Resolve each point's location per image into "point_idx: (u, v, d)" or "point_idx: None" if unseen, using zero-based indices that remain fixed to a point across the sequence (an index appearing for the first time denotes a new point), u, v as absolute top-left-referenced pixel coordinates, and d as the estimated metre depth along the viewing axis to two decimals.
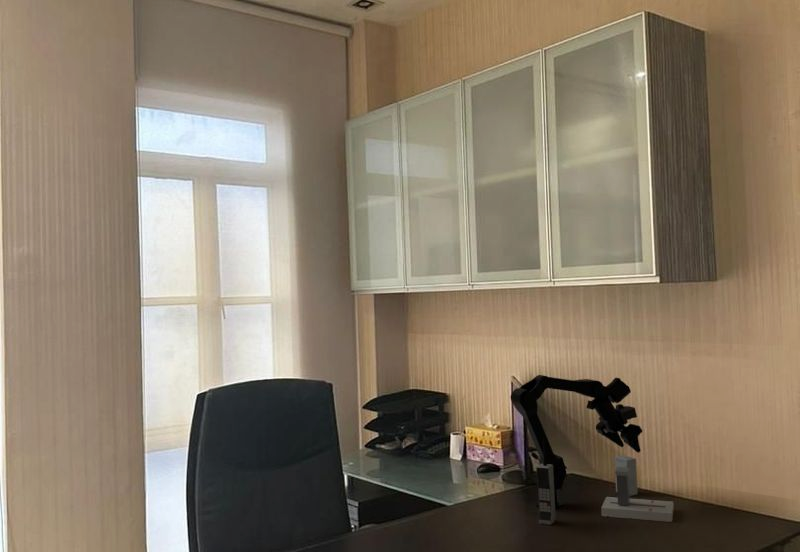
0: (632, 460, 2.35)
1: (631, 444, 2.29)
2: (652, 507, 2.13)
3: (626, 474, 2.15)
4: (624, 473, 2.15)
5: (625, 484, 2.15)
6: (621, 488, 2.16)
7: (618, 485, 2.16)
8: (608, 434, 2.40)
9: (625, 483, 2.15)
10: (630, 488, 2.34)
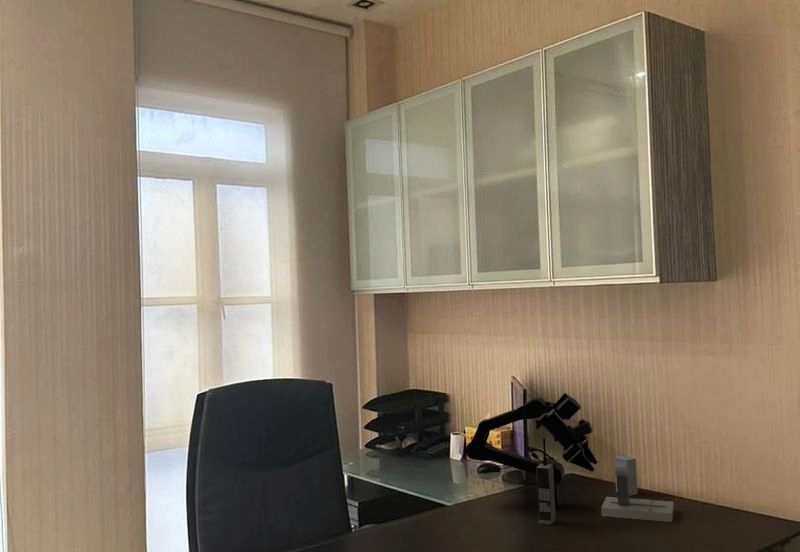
0: (632, 460, 2.35)
1: (577, 463, 2.18)
2: (652, 507, 2.13)
3: (626, 474, 2.15)
4: (624, 473, 2.15)
5: (625, 484, 2.15)
6: (621, 488, 2.16)
7: (618, 485, 2.16)
8: None
9: (625, 483, 2.15)
10: (630, 488, 2.34)
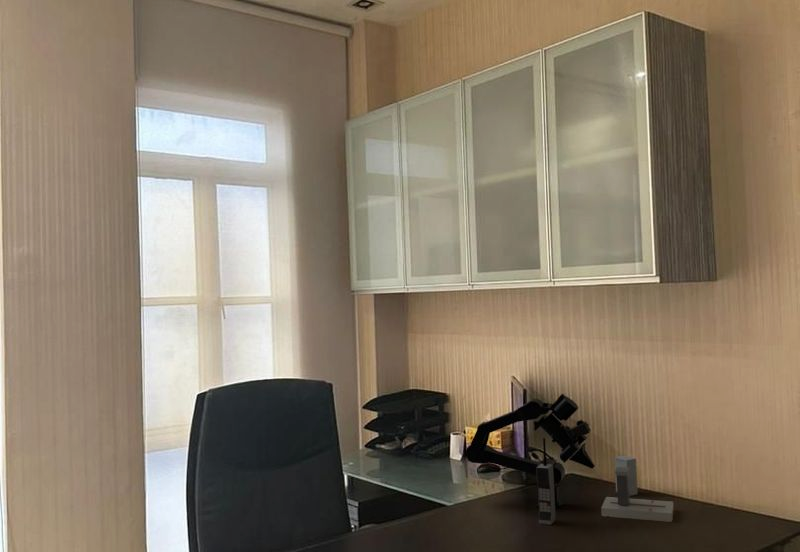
0: (632, 460, 2.35)
1: (577, 460, 2.22)
2: (652, 507, 2.13)
3: (626, 474, 2.15)
4: (624, 473, 2.15)
5: (625, 484, 2.15)
6: (621, 488, 2.16)
7: (618, 485, 2.16)
8: None
9: (625, 483, 2.15)
10: (630, 488, 2.34)
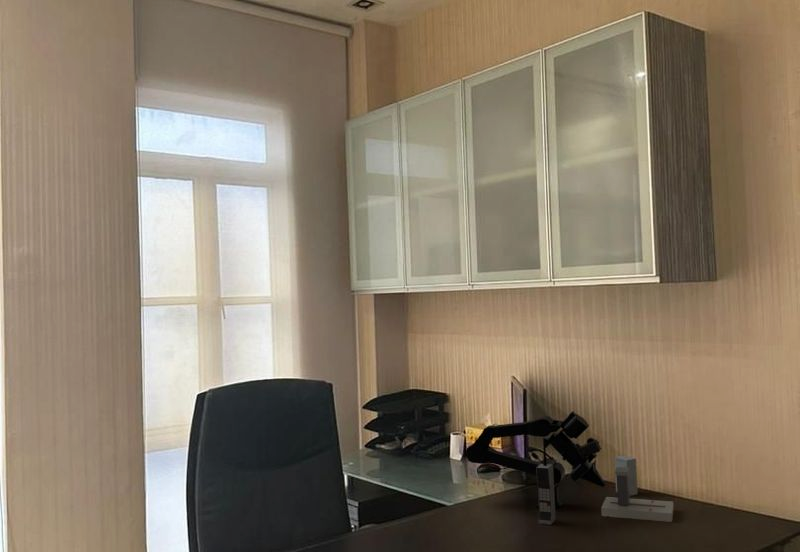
0: (632, 460, 2.35)
1: (588, 479, 2.20)
2: (652, 507, 2.13)
3: (626, 474, 2.15)
4: (624, 473, 2.15)
5: (625, 484, 2.15)
6: (621, 488, 2.16)
7: (618, 485, 2.16)
8: None
9: (625, 483, 2.15)
10: (630, 488, 2.34)
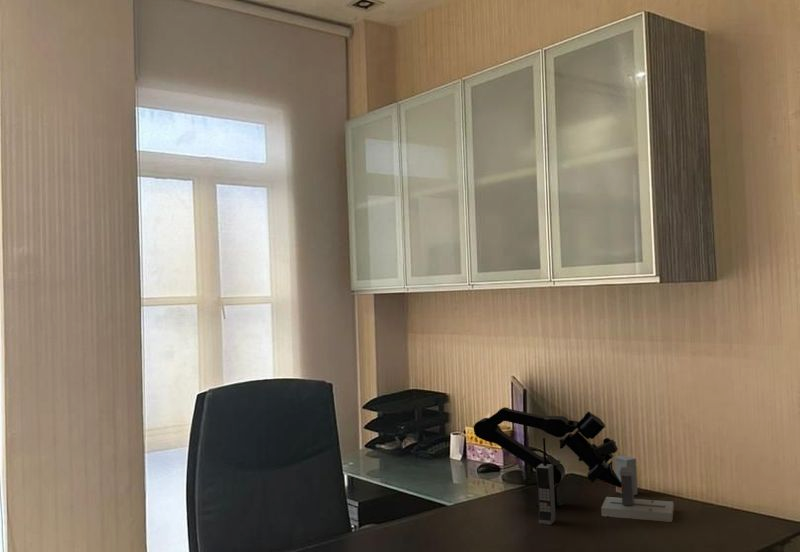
0: (632, 460, 2.35)
1: (605, 479, 2.18)
2: (652, 507, 2.13)
3: (631, 474, 2.15)
4: (629, 473, 2.15)
5: (630, 484, 2.15)
6: (625, 488, 2.15)
7: (622, 486, 2.16)
8: None
9: (630, 483, 2.15)
10: None
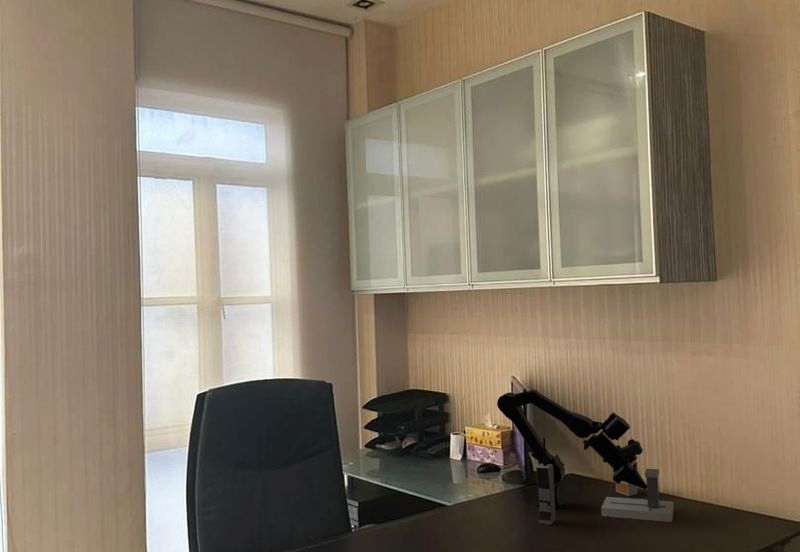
0: None
1: (630, 481, 2.15)
2: (652, 507, 2.13)
3: (656, 476, 2.12)
4: (654, 475, 2.12)
5: (655, 486, 2.12)
6: (651, 490, 2.12)
7: (647, 488, 2.13)
8: None
9: (655, 485, 2.12)
10: (630, 488, 2.34)
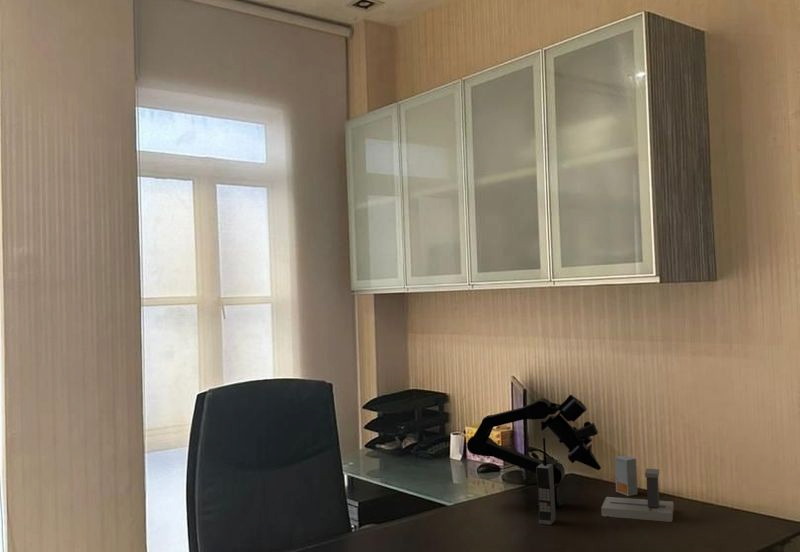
0: (632, 460, 2.35)
1: (584, 462, 2.21)
2: (652, 507, 2.13)
3: (656, 476, 2.12)
4: (654, 475, 2.12)
5: (655, 486, 2.12)
6: (651, 490, 2.12)
7: (647, 487, 2.13)
8: None
9: (655, 485, 2.12)
10: (630, 488, 2.34)
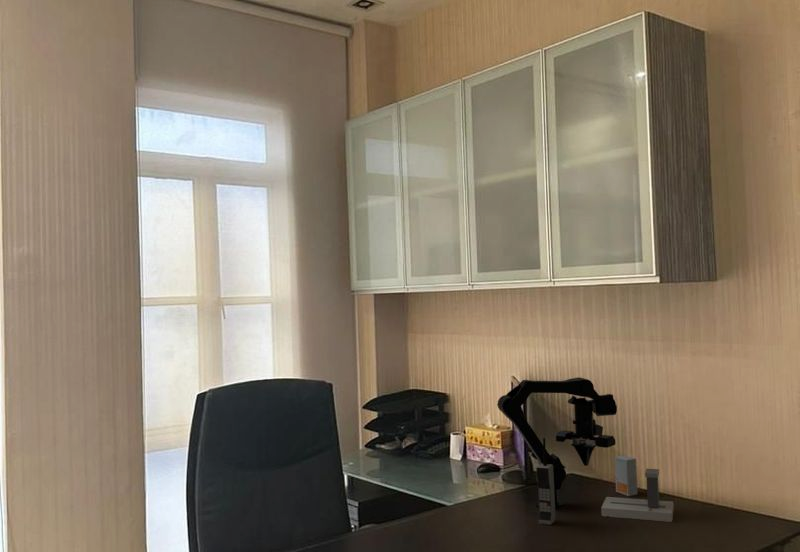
0: (632, 460, 2.35)
1: (587, 452, 2.27)
2: (652, 507, 2.13)
3: (656, 476, 2.12)
4: (654, 475, 2.12)
5: (655, 486, 2.12)
6: (651, 490, 2.12)
7: (647, 487, 2.13)
8: (580, 446, 2.28)
9: (655, 485, 2.12)
10: (630, 488, 2.34)
